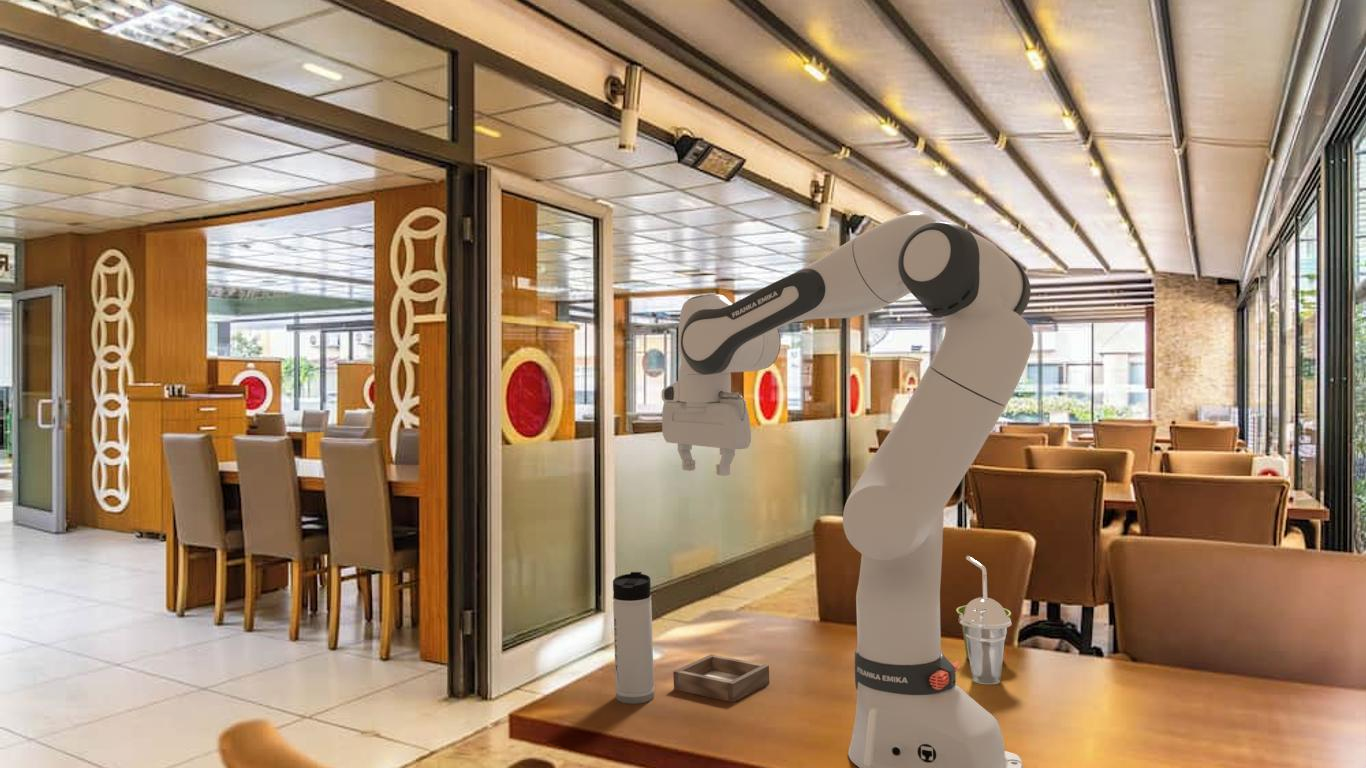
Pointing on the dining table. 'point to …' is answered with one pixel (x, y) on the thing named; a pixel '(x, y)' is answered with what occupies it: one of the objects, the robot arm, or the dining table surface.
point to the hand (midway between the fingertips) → (705, 472)
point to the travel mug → (633, 638)
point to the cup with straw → (985, 634)
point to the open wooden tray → (721, 677)
